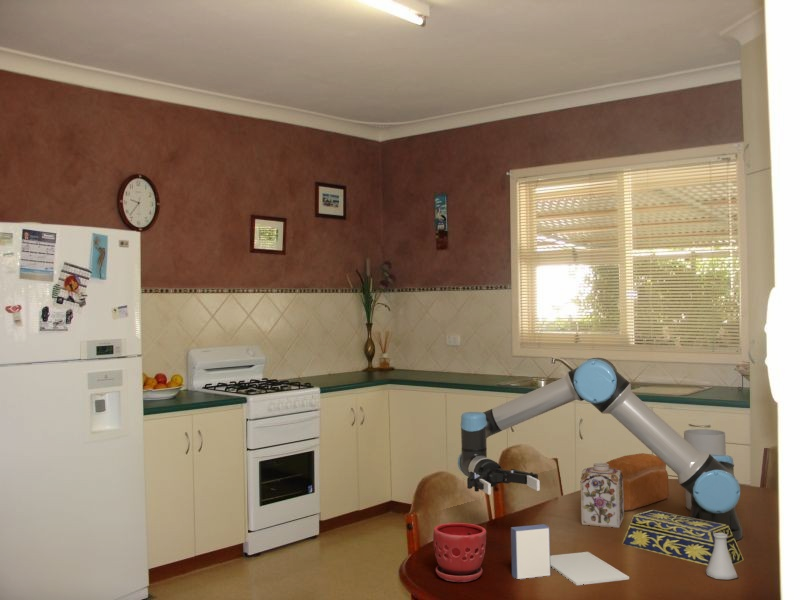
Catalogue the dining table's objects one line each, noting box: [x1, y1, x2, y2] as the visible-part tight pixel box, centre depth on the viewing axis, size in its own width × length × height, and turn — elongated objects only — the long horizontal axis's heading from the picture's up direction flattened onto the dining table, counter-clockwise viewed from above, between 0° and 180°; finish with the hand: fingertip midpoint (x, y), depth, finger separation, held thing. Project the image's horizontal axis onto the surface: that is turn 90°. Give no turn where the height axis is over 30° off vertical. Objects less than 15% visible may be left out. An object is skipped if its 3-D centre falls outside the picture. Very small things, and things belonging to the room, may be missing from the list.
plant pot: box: [432, 522, 487, 583], centre depth 194 cm, size 13×13×12 cm
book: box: [510, 523, 552, 580], centre depth 193 cm, size 3×9×12 cm, turn 104°
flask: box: [705, 533, 739, 581], centre depth 190 cm, size 7×7×10 cm
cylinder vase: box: [683, 428, 727, 511], centre depth 253 cm, size 12×12×25 cm
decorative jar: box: [580, 462, 625, 529], centre depth 240 cm, size 12×12×18 cm
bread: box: [605, 452, 670, 512], centre depth 264 cm, size 14×26×16 cm, turn 131°
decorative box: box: [621, 508, 744, 566], centre depth 209 cm, size 11×30×9 cm, turn 39°
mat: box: [550, 551, 630, 586], centre depth 197 cm, size 21×14×1 cm, turn 14°
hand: (514, 487), depth 202 cm, fingers open, 13 cm apart
